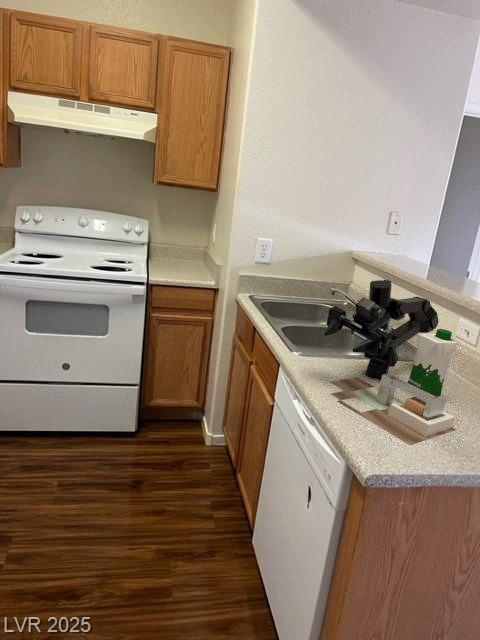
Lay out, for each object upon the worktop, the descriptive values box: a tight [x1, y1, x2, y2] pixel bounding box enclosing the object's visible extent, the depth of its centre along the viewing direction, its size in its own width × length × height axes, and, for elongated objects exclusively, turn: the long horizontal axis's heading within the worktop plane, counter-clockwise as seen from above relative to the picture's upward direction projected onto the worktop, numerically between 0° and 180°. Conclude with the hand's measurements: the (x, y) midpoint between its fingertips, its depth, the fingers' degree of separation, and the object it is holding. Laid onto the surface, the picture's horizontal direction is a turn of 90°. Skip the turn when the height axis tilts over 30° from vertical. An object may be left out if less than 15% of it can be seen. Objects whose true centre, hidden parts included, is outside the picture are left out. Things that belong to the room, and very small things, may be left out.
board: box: [329, 376, 457, 446], centre depth 125 cm, size 19×32×2 cm, turn 35°
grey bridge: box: [376, 372, 448, 421], centre depth 122 cm, size 6×16×8 cm, turn 35°
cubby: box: [388, 403, 456, 436], centre depth 119 cm, size 11×11×3 cm
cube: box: [404, 396, 426, 418], centre depth 120 cm, size 5×5×5 cm
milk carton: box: [407, 328, 458, 397], centre depth 137 cm, size 9×9×20 cm
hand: (338, 342), depth 125 cm, fingers open, 9 cm apart
